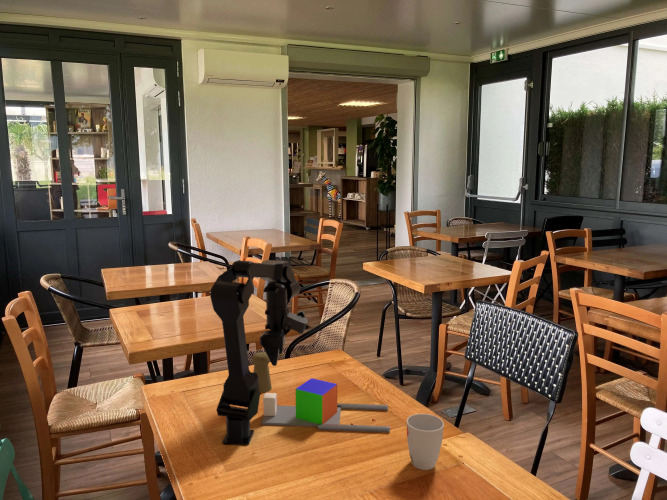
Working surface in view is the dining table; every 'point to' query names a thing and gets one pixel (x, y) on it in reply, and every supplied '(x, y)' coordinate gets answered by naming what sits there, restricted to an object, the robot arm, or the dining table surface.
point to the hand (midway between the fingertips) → (277, 359)
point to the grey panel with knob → (287, 414)
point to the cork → (262, 371)
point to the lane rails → (357, 427)
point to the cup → (424, 440)
